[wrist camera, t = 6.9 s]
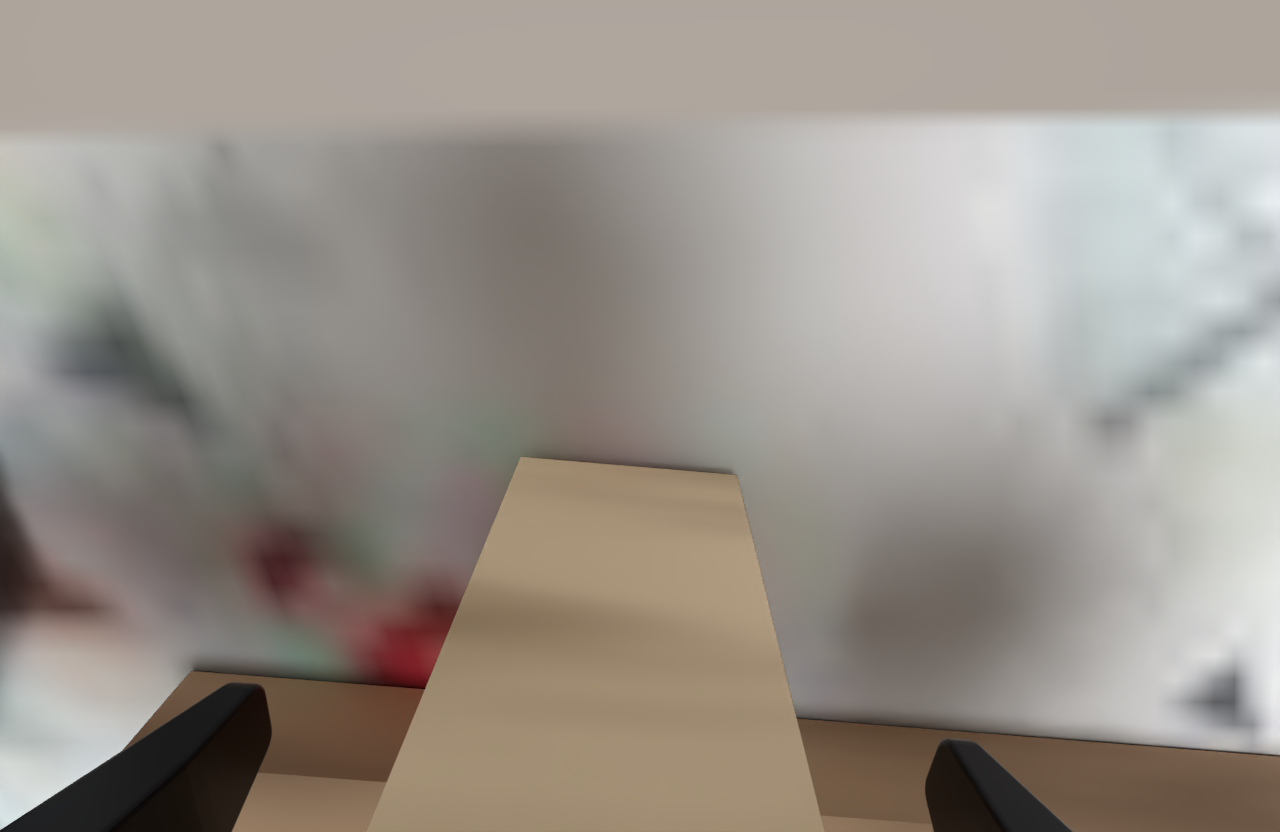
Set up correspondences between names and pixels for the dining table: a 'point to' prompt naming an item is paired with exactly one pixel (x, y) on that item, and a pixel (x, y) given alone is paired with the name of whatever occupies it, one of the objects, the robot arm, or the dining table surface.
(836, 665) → the dining table surface
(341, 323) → the dining table surface
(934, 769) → the robot arm
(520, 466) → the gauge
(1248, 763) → the board
